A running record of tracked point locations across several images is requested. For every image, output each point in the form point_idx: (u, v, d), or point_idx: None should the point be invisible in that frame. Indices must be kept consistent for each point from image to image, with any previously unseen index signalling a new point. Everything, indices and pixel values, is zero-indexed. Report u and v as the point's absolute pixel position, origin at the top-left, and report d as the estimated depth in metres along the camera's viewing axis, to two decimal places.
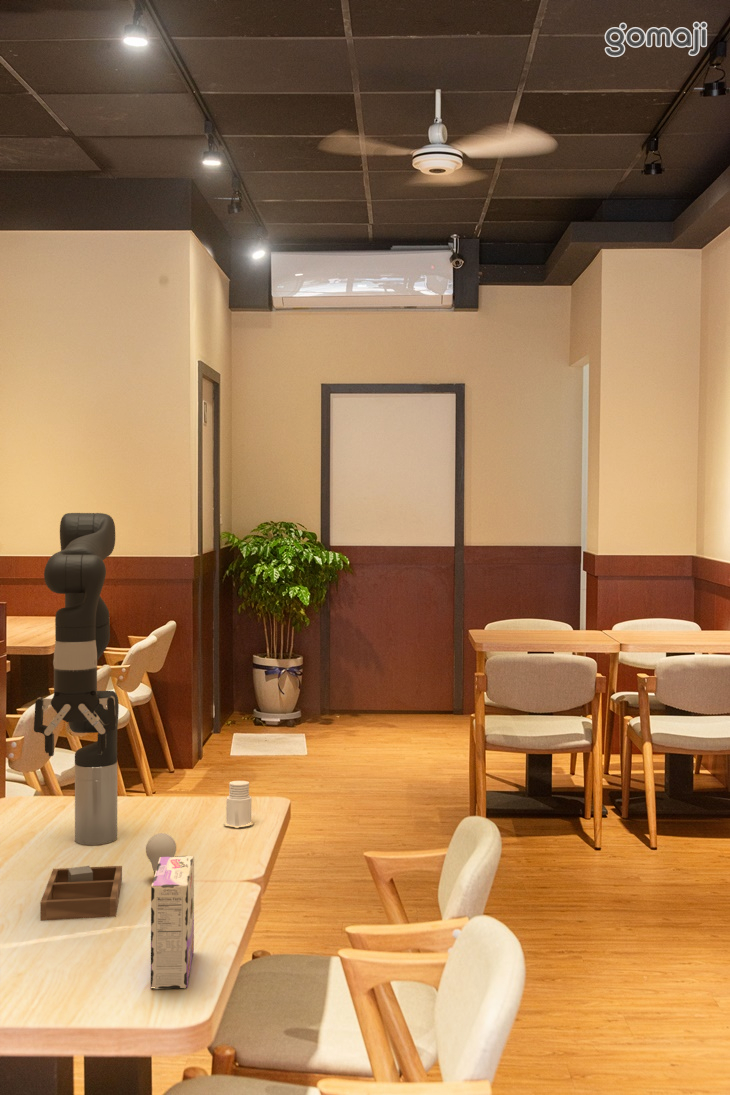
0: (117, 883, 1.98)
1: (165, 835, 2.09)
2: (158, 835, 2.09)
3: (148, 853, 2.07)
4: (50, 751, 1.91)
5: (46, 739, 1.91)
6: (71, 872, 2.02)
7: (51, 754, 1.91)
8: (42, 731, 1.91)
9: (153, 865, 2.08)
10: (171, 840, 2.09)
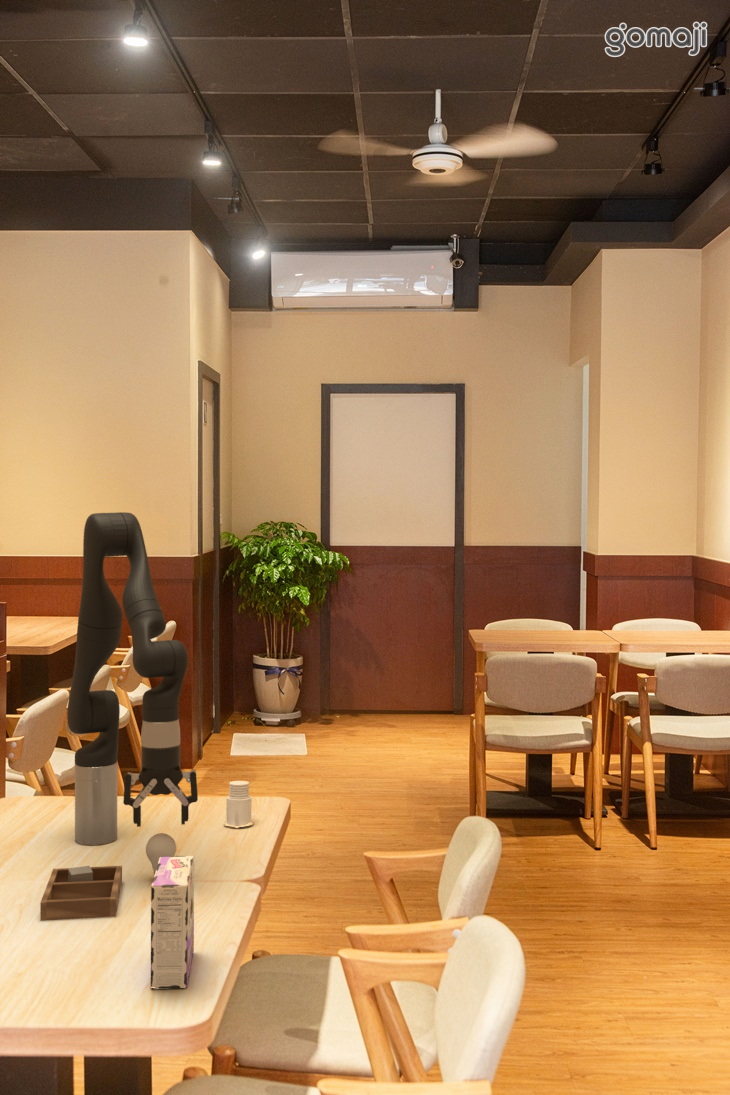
0: (117, 883, 1.98)
1: (165, 835, 2.09)
2: (158, 835, 2.09)
3: (148, 853, 2.07)
4: (138, 822, 2.07)
5: (134, 811, 2.07)
6: (71, 872, 2.02)
7: (139, 825, 2.07)
8: (131, 804, 2.07)
9: (153, 865, 2.08)
10: (171, 840, 2.09)
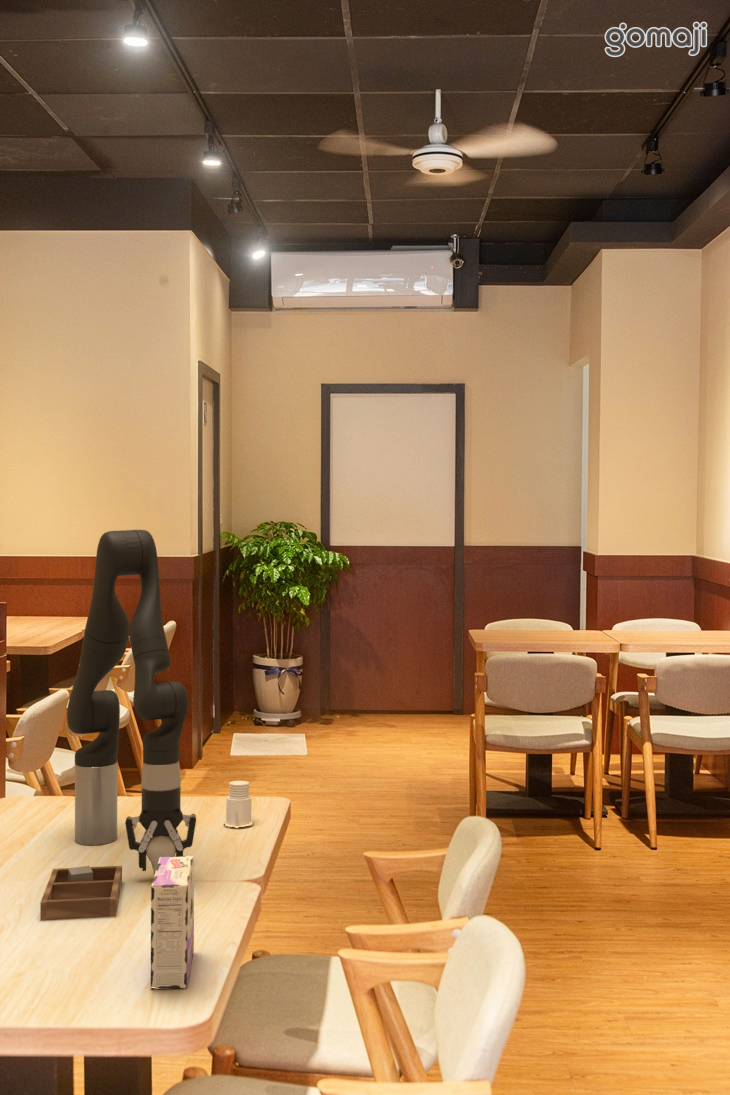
0: (117, 883, 1.98)
1: None
2: None
3: (148, 853, 2.07)
4: (144, 866, 2.08)
5: (140, 855, 2.08)
6: (71, 872, 2.02)
7: (144, 869, 2.08)
8: (136, 848, 2.08)
9: (153, 865, 2.08)
10: (171, 840, 2.09)
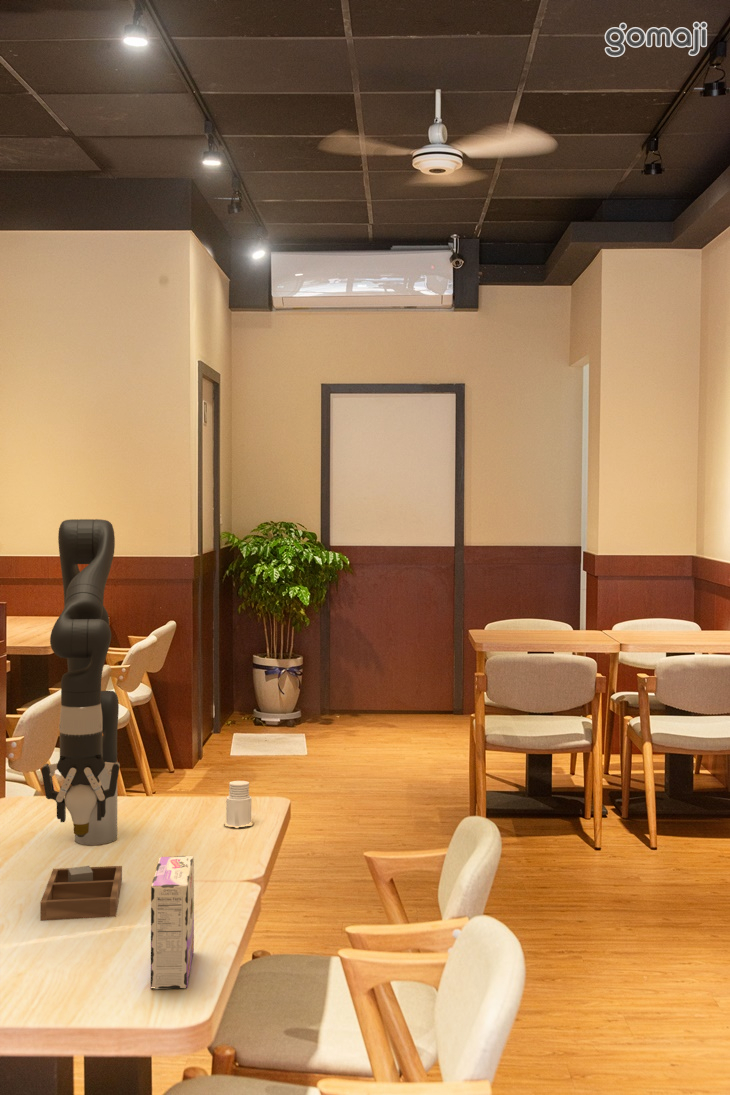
0: (117, 883, 1.98)
1: None
2: None
3: (66, 803, 1.92)
4: (62, 817, 1.92)
5: (58, 805, 1.93)
6: (71, 872, 2.02)
7: (63, 820, 1.92)
8: (54, 797, 1.92)
9: (72, 816, 1.93)
10: (92, 789, 1.93)
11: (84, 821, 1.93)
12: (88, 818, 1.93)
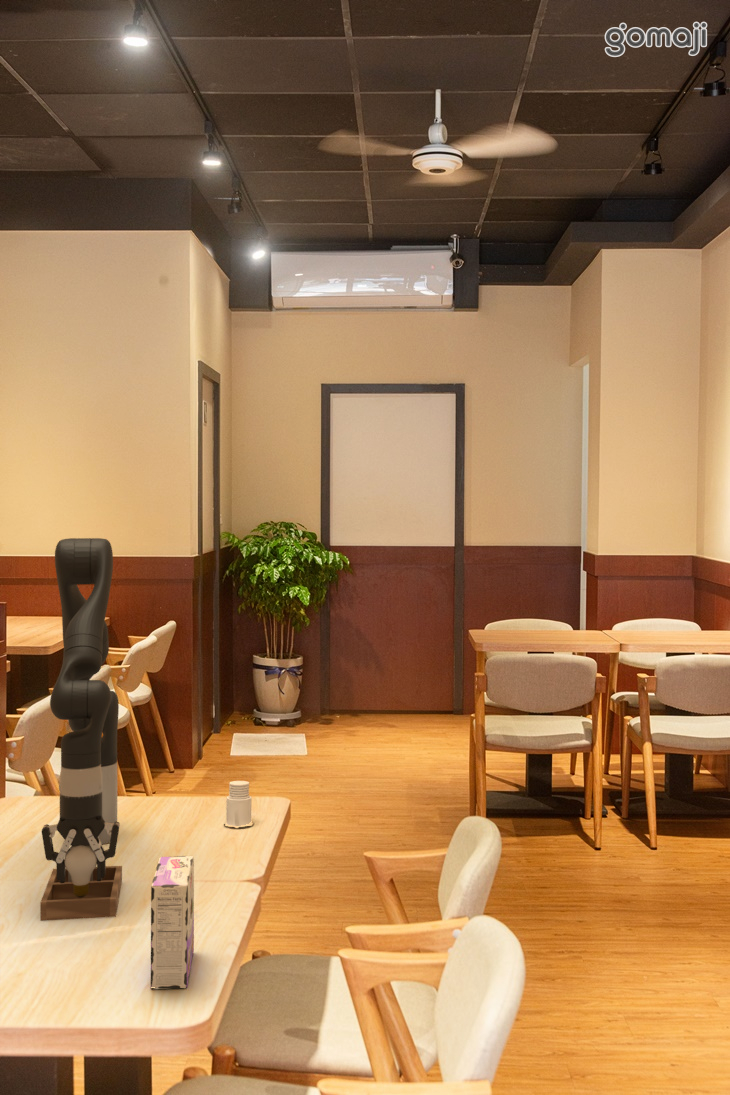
0: (117, 883, 1.98)
1: None
2: None
3: (66, 864, 1.92)
4: (62, 878, 1.93)
5: (58, 866, 1.93)
6: None
7: (63, 881, 1.93)
8: (54, 859, 1.93)
9: (72, 877, 1.93)
10: (92, 850, 1.93)
11: (84, 882, 1.93)
12: (88, 879, 1.94)
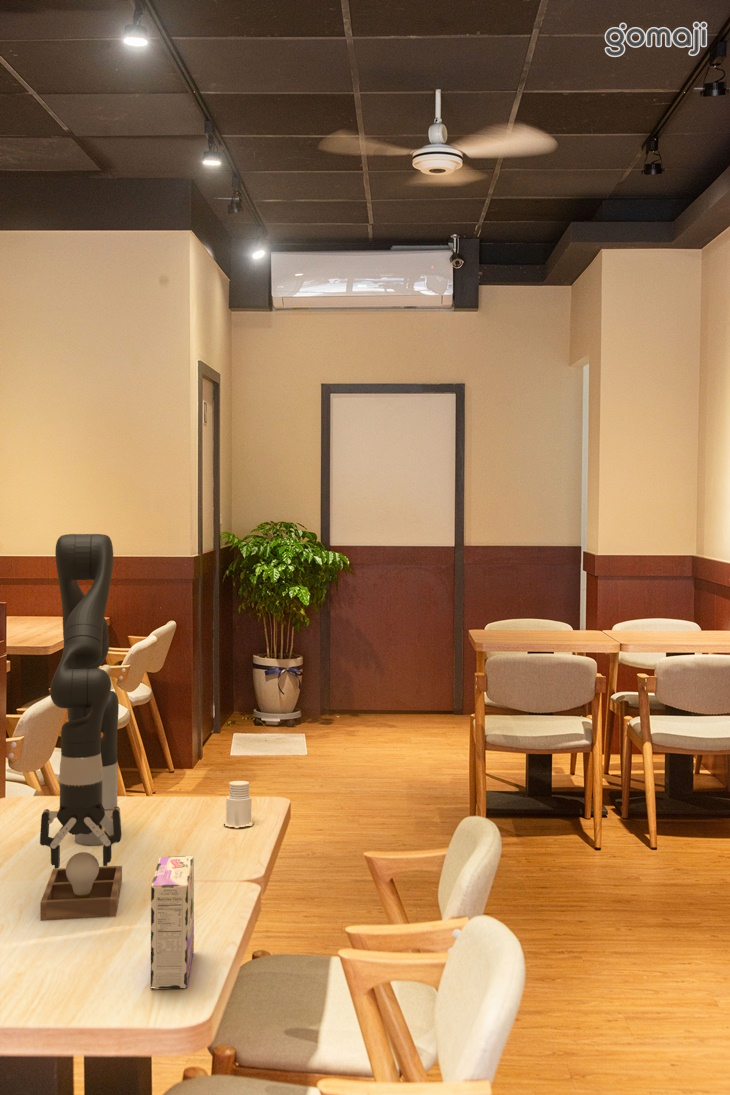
0: (117, 883, 1.98)
1: (87, 854, 1.94)
2: (79, 854, 1.94)
3: (68, 874, 1.92)
4: (56, 864, 1.93)
5: (52, 852, 1.93)
6: None
7: (57, 866, 1.93)
8: (48, 844, 1.93)
9: (73, 887, 1.93)
10: (93, 860, 1.94)
11: (85, 891, 1.93)
12: (89, 889, 1.94)
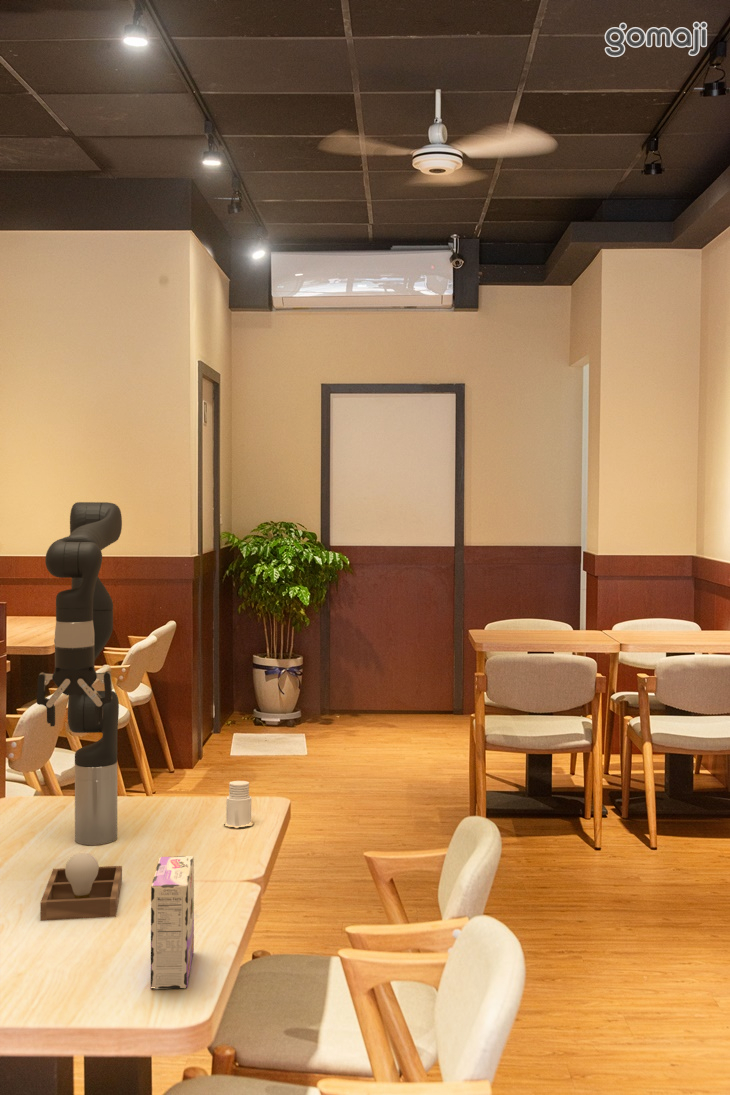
0: (117, 883, 1.98)
1: (86, 855, 1.94)
2: (78, 855, 1.94)
3: (67, 874, 1.92)
4: (52, 722, 2.08)
5: (48, 711, 2.08)
6: None
7: (52, 724, 2.08)
8: (44, 703, 2.08)
9: (73, 887, 1.93)
10: (92, 860, 1.94)
11: (85, 892, 1.93)
12: (89, 889, 1.94)
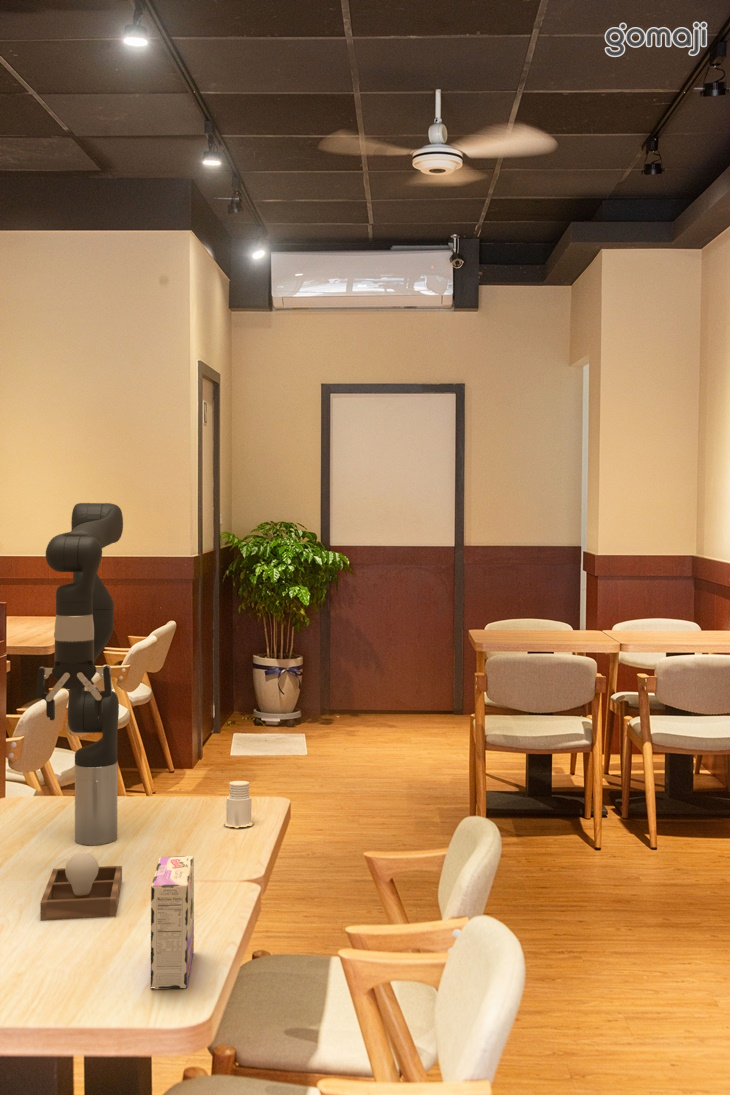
0: (117, 883, 1.98)
1: (86, 854, 1.94)
2: (78, 854, 1.94)
3: (67, 874, 1.92)
4: (51, 715, 2.09)
5: (47, 705, 2.09)
6: None
7: (52, 718, 2.09)
8: (44, 697, 2.09)
9: (73, 887, 1.93)
10: (92, 860, 1.94)
11: (85, 892, 1.93)
12: (89, 889, 1.94)
